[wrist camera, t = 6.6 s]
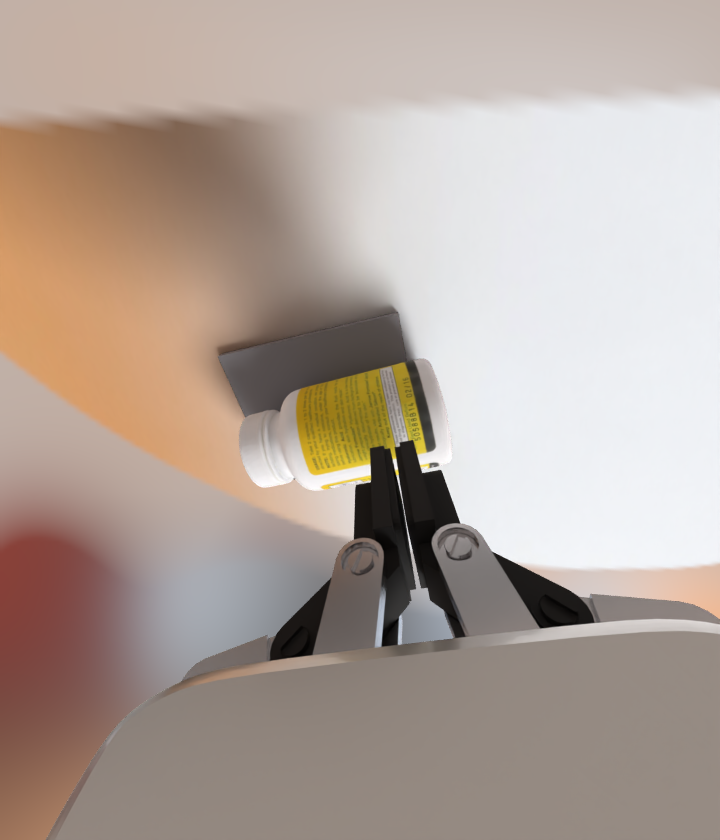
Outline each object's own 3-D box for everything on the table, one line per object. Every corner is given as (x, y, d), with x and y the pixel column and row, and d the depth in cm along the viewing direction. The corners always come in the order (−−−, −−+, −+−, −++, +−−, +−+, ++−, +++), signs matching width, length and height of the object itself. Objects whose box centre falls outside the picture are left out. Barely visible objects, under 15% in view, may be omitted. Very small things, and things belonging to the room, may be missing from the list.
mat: (397, 311, 17) (398, 313, 16) (421, 451, 21) (422, 455, 20) (221, 353, 18) (217, 356, 17) (276, 478, 22) (275, 482, 22)
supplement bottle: (422, 333, 16) (238, 381, 17) (455, 416, 12) (219, 470, 13) (430, 404, 20) (282, 439, 21) (456, 482, 16) (276, 519, 17)
